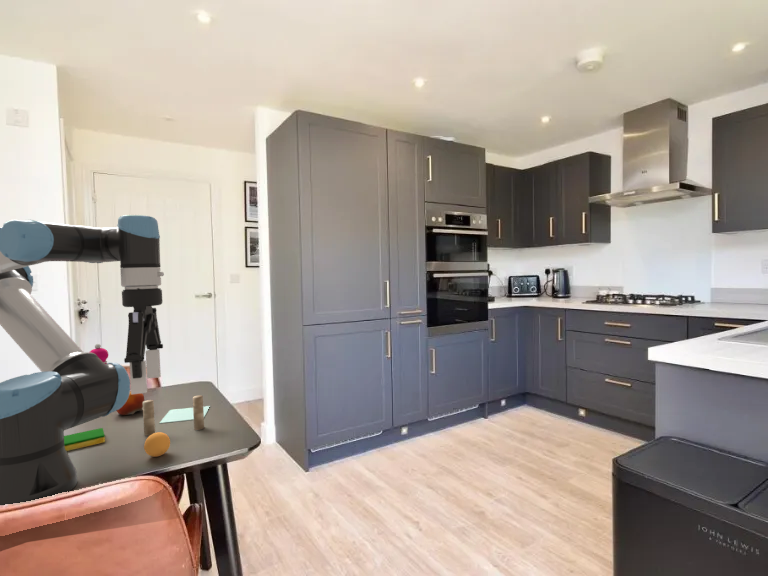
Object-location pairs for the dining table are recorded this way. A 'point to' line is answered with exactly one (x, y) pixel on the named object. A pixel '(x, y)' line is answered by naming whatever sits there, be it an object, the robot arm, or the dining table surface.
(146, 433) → the left post
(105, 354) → the pepper mill
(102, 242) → the robot arm
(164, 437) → the ball
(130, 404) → the fruit
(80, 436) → the dish sponge
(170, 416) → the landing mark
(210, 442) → the dining table surface
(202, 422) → the right post
